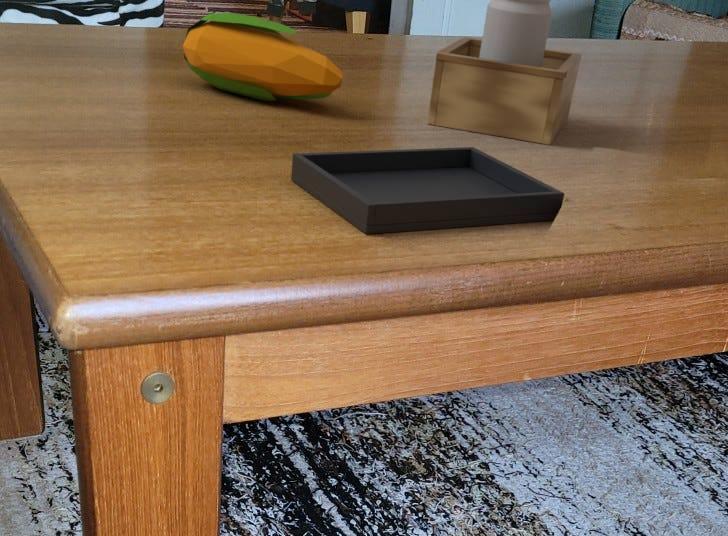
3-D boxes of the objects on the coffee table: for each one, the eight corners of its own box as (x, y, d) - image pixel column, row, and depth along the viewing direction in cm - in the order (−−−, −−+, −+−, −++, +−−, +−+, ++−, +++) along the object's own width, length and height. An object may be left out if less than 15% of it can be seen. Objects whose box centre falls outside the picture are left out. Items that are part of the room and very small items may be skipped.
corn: (211, -3, 106) (368, 28, 97) (212, 73, 110) (363, 109, 102) (164, 7, 101) (326, 41, 92) (168, 86, 105) (322, 125, 97)
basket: (568, 120, 107) (582, 54, 103) (550, 145, 97) (565, 72, 93) (454, 101, 110) (464, 36, 106) (425, 124, 100) (435, 52, 96)
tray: (469, 171, 87) (473, 146, 86) (558, 220, 77) (565, 193, 76) (290, 180, 80) (292, 153, 79) (365, 234, 70) (369, 205, 69)
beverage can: (462, 122, 102) (483, -9, 95) (477, 111, 107) (498, -14, 100) (522, 133, 100) (548, 0, 93) (535, 121, 105) (560, -6, 98)
